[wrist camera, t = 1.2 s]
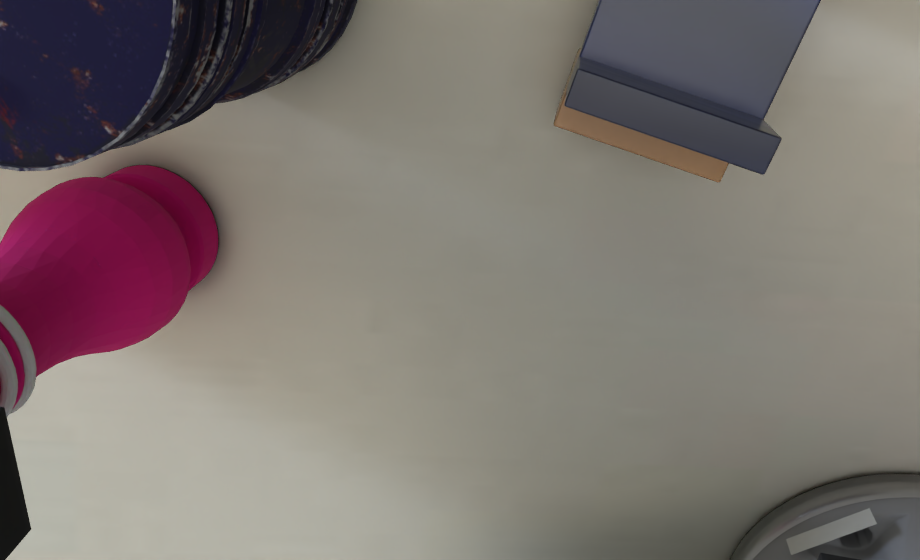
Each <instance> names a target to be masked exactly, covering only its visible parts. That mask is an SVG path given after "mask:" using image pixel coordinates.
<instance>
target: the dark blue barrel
mask: <svg viewBox="0 0 920 560" xmlns="http://www.w3.org/2000/svg"><path fill="white" fill-rule="evenodd" d="M356 3H357V0H0V168H2V169H9V170H16V171H45V170H51V169H56V168H61V167H66V166H71V165H74V164H77V163H79V162H81V161H84V160H86V159H89V158H91V157H94V156H96V155H98V154H101V153H103V152H106V151H108V150H111V149H116V148H120V147H125V146H130V145H133V144H136V143H138V142H140V141H143V140H145V139H148V138H150V137H153V136H155V135H157V134H160V133H162V132H164V131H167V130H171V129H173V128H175V127H178V126H180V125H183V124H185V123H188V122H190V121H192V120H193V119H195V118H196V117H198V116H199V115H201V114H202V113H204V112H205V111H207V110H208V109H210V108H211V107H212V106H213V105H214V104H215V103H223V102H228V101H233V100H237V99H241V98H244V97H247V96H249V95H251V94H254V93H257V92H259V91H262V90H264V89H267V88H269V87H272V86H274V85H276V84H279V83H281V82H283V81H285V80H286V79H288V78H289V77H291V76H293V75H294V74H296V73H297V72H300V71H302V70H304V69H306V68H308V67H309V66H311V65H312V64H314V63H315V62H317V61H319V60H320V59H321V58H322V57H323V56H324V55H325V54H326V53H327V52H328V51H329V50H331V49H332V47H333V46H334V45H335V43H336V42H337V41H338V40H339V38H340V37H341V36H342V34H343V32H344V31H345V29H346V27H347V25H348V23H349V21H350V19H351V17H352V14H353V12H354V9H355V6H356Z"/></svg>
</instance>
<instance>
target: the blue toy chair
mask: <svg viewBox="0 0 920 560" xmlns="http://www.w3.org/2000/svg"><path fill="white" fill-rule="evenodd" d="M820 1H821V0H599V1H598V4H597V7H596V10H595V12H594V15H593V18H592V21H591V23H590V26H589V29H588V32H587V35H586V37H585V40H584V43H583V46H582V48H580V49H579V50H578V52H577V55H576V58H575V61H574V63H573V66H572V69H571V72H570V75H569V78H568V81H567V84H566V86H565V89H564V92H563V95H562V97H561V100H560V103H559V106H558V108H557V112H556V116H555V120H554V126H557V127H559V128H562V129H565V130H568V131H571V132H574V133H577V134H580V135H583V136H585V137H588V138H591V139H594V140H597V141H600V142H603V143H606V144H609V145H611V146H614V147H617V148H620V149H623V150H626V151H629V152H632V153H635V154H637V155H640V156H643V157H646V158H649V159H652V160H655V161H658V162H661V163H663V164H666V165H669V166H672V167H675V168H678V169H681V170H684V171H687V172H690V173H692V174H695V175H698V176H701V177H704V178H707V179H710V180H713V181H716V182H720V181H721V179H722V177H723V175H724V173H725V170H726V168H727V166H728V164H729V163H730V164H733V165H736V166H739V167H742V168H745V169H748V170H750V171H753V172H756V173H759V174H765V172H766V170H767V168H768V166H769V164H770V162H771V160H772V158H773V156H774V154H775V152H776V150H777V148H778V146H779V144H780V142H781V139H782V138H781V137H780V136H779V135H778V134H777V133H776V132H775V131H774V130H773V129H772V128H771V127H770V126H769V125H768V124H767V123H766V122H765V121H764V117H765V115H766V113H767V111H768V109H769V107H770V105H771V103H772V101H773V99H774V97H775V95H776V93H777V90H778V88H779V86H780V84H781V82H782V80H783V78H784V76H785V74H786V72H787V70H788V68H789V65H790V63H791V61H792V59H793V57H794V55H795V53H796V51H797V49H798V47H799V45H800V43H801V41H802V38H803V36H804V34H805V32H806V30H807V28H808V26H809V24H810V22H811V20H812V18H813V16H814V13H815V11H816V9H817V7H818V5H819V3H820Z"/></svg>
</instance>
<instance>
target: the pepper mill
mask: <svg viewBox="0 0 920 560" xmlns="http://www.w3.org/2000/svg"><path fill="white" fill-rule="evenodd" d="M217 251H218V231H217V226H216V223H215V220H214V217H213V214H212V212H211V210H210V208H209V206H208V205H207V203H206V202H205V200H204V199H203V197H202V196H201V195H200V194H199V193H198V191H197V190H196V189H195V188H194V187H193V186H192V185H191V184H190V183H189V182H187V181H186V180H184V179H183V178H181V177H179V176H178V175H176V174H174V173H172V172H170V171H168V170H165V169H162V168H159V167H155V166H149V165H136V166H130V167H126V168H123V169H121V170H119V171H116V172H114V173H112V174H110V175H108V176H106V177H104V178H99V177H83V178H78V179H73V180H69V181H66V182H63V183H60V184H58V185H57V186H55V187H53V188H51V189H50V190H48V191H46V192H44V193H43V194H41V195H40V196H38V197H37V198H36V199H34V200H33V201H31V202H30V203H29V204H28V205H27V206H26V207H25V208H24V209H23V210H22V211H21V212H20V213H19V214H18V216H17V217H16V218H15V219H14V220H13V221H12V223H11V224H10V226H9V228H8V230H7V232H6V233H5V235H4V237H3V239H2V241H1V243H0V407H4V408H5V412H6V417H7V416H8V415H9V414H11V413H13V412H15V411H17V410H18V409H19V408H20V407H21V406H23V405H24V404H25V402H26V401H27V400H28V398H29V397H30V395H31V393H32V391H33V389H34V386H35V380H36V377H37V376H38V375H39V374H41V373H43V372H44V371H46V370H48V369H49V368H51V367H53V366H54V365H56V364H58V363H60V362H63V361H66V360H68V359H71V358H74V357H77V356H82V355H87V354H93V353H102V352H110V351H115V350H119V349H122V348H125V347H128V346H130V345H133V344H136V343H138V342H140V341H142V340H144V339H146V338H148V337H150V336H151V335H153V334H154V333H155V332H157V331H158V330H160V329H161V328H162V327H164V326H165V325H166V324H168V323H169V322H170V321H171V320H172V319H173V318H174V317H175V316H176V314H177V313H178V312H179V310H180V308H181V307H182V305H183V303H184V302H185V299H186V296H187V293H188V291H189V290H190V289H191V288H193V287H194V286H195V285H196V284H197V283H199V282H200V281H201V280H202V279H203V278H204V277H205V276H206V275H207V274H208V273H209V271H210V270H211V268H212V266H213V264H214V262H215V259H216V256H217Z"/></svg>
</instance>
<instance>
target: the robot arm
mask: <svg viewBox="0 0 920 560" xmlns="http://www.w3.org/2000/svg"><path fill="white" fill-rule="evenodd" d="M30 530H31V526H30V522H29V517H28V513H27V508H26V503H25V499H24V494H23V490H22V485H21V481H20V476H19V472H18V467H17V462H16V458H15V453H14V449H13V444H12V440H11V435H10V431H9V426H8V421H7V417H6V412H5V408H4V407H0V560H5V559H6V558H7V557H8V556H9V555H10V553H11V552H12V551H13V550H14V549H15V548H16V546H17V545H18V544H19V543H20V542H21V541H22V539H23V538H24V537H25V536H26V535H27V533H28V532H29V531H30ZM730 560H920V475H913V474H881V475H870V476H862V477H856V478H850V479H846V480H842V481H838V482H834V483H830V484H827V485H824V486H821V487H818V488H815V489H813V490H811V491H808V492H806V493H803V494H801V495H799V496H797V497H795V498H793V499H791V500H789V501H788V502H786V503H784V504H783V505H781V506H779V507H778V508H776V509H775V510H773V511H772V512H771V513H769V514H768V515H767V516H765V517H764V518H763V519H762V520H761V521H759V522H758V523H757V524H756V525H755V526H754V527H753V528H752V529H751V530H750V531H749V532H748V534H747V535H746V536H745V537H744V538H743V539H742V541H741V542H740V544H739V545H738V546H737V548H736V549H735V551H734V553H733V555H732V557H731V558H730Z"/></svg>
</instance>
